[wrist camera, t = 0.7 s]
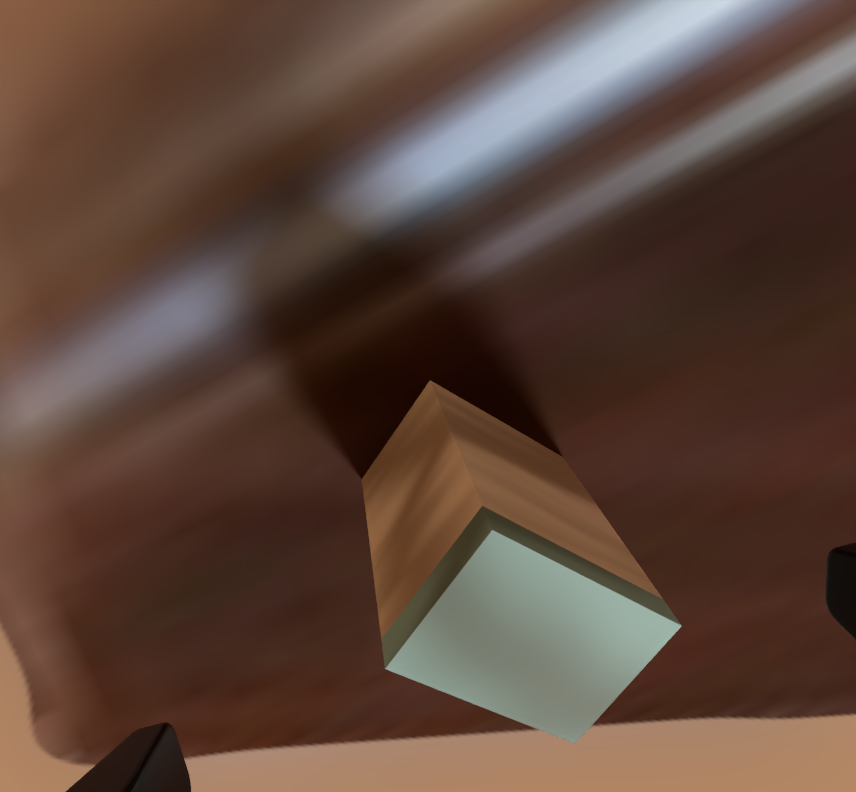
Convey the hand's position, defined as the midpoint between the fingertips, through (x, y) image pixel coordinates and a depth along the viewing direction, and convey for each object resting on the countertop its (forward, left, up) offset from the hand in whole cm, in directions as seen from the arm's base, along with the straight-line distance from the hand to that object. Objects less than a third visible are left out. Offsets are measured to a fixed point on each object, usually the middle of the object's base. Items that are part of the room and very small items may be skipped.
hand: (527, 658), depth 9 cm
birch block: (0, +6, -15) cm, 16 cm away
